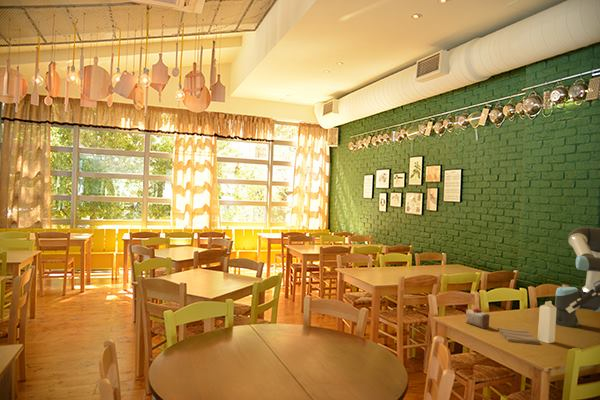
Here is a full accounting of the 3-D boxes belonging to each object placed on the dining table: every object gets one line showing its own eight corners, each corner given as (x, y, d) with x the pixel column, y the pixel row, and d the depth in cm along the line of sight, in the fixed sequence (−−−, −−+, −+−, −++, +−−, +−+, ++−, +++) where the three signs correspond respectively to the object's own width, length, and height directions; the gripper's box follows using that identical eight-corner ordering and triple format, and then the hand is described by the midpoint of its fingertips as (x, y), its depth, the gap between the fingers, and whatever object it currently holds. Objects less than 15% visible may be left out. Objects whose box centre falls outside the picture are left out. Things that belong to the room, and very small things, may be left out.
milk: (554, 342, 238) (557, 302, 237) (548, 343, 235) (551, 303, 234) (543, 338, 243) (546, 299, 243) (537, 339, 240) (540, 300, 240)
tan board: (497, 330, 254) (497, 327, 254) (526, 333, 252) (526, 330, 252) (507, 341, 235) (508, 338, 235) (539, 344, 232) (539, 341, 232)
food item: (463, 322, 267) (464, 306, 267) (471, 321, 271) (472, 305, 271) (482, 329, 255) (483, 312, 255) (490, 327, 259) (492, 311, 259)
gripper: (609, 295, 211) (571, 319, 221) (613, 288, 230) (578, 310, 240) (597, 282, 214) (560, 306, 224) (601, 277, 233) (567, 299, 243)
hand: (569, 308), depth 232 cm, fingers open, 13 cm apart
